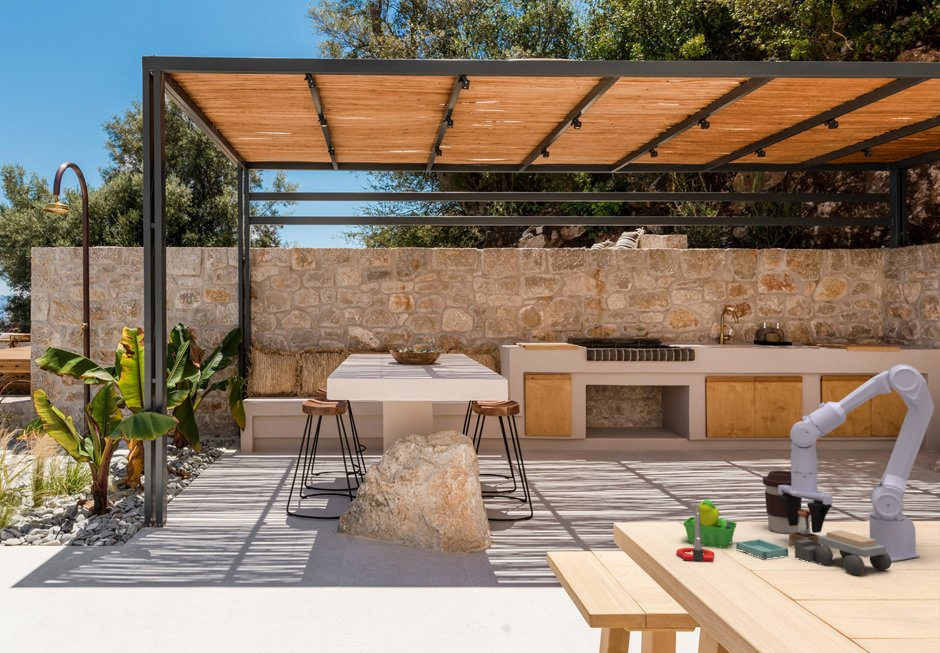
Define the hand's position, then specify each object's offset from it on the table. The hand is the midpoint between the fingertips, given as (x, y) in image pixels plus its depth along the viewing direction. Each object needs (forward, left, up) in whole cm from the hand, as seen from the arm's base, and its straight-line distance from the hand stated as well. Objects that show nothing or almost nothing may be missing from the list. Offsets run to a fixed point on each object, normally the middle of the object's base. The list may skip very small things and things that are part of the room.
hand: (804, 528), depth 181 cm
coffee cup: (-8, -14, -5) cm, 17 cm away
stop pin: (0, 0, -4) cm, 4 cm away
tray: (+13, 0, -4) cm, 14 cm away
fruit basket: (+18, -12, -5) cm, 23 cm away
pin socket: (0, 0, -4) cm, 4 cm away
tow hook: (+28, -5, -5) cm, 29 cm away
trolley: (+3, +16, -4) cm, 16 cm away
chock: (+7, +8, -5) cm, 11 cm away
